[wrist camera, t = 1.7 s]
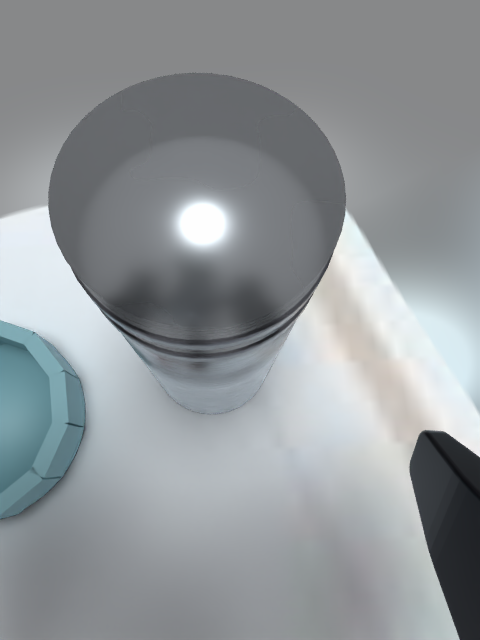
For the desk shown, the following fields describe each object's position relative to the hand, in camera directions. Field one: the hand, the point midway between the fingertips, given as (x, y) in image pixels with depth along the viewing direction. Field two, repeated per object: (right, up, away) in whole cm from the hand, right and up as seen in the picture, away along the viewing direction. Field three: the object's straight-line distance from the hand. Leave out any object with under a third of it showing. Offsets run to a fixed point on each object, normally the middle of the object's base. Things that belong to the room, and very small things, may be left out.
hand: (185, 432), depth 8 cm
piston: (0, 0, +12) cm, 12 cm away
